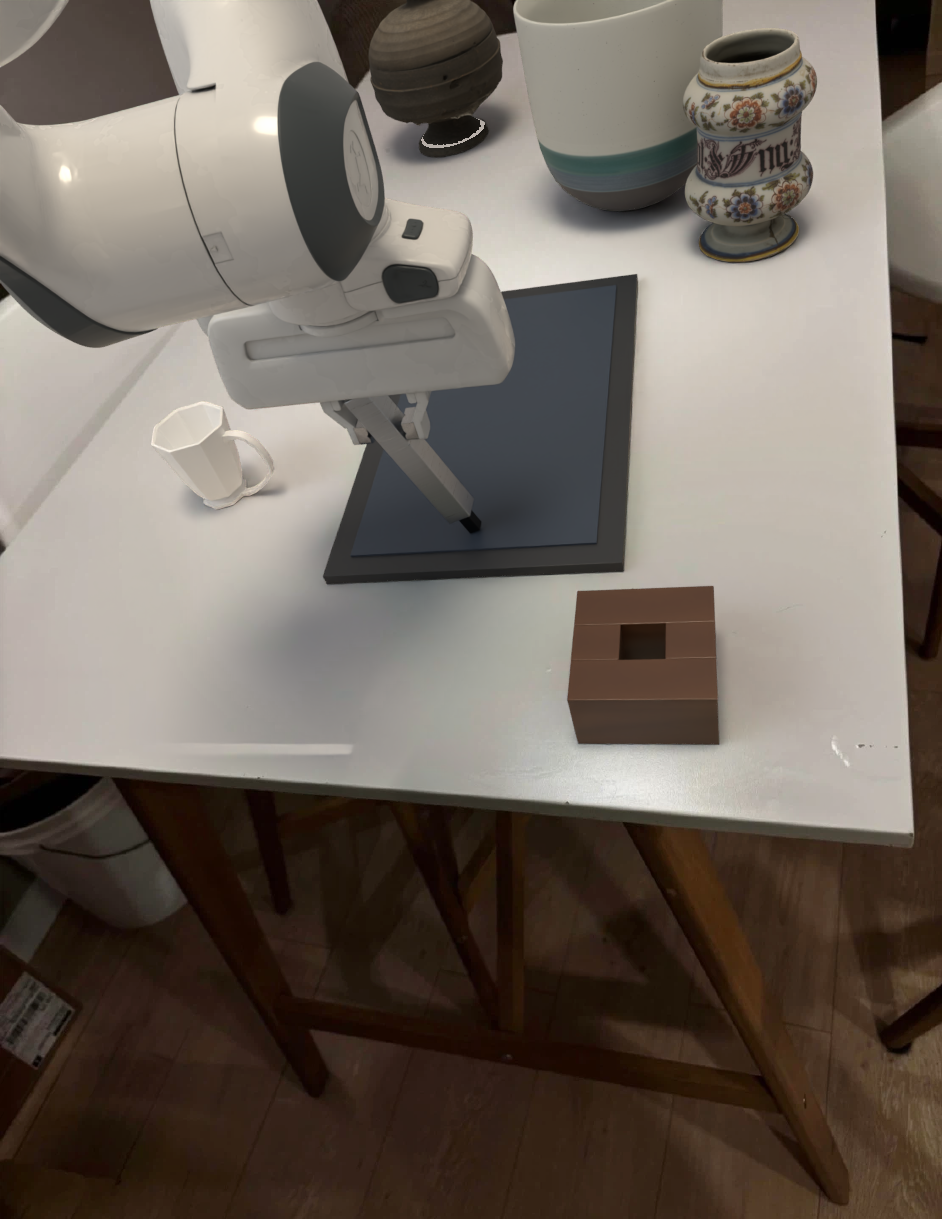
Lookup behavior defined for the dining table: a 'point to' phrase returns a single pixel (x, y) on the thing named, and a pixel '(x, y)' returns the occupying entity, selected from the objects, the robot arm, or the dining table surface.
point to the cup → (207, 453)
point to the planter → (615, 92)
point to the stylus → (416, 460)
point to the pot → (436, 69)
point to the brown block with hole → (644, 667)
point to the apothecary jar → (749, 142)
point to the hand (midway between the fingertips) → (393, 436)
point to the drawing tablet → (515, 454)
